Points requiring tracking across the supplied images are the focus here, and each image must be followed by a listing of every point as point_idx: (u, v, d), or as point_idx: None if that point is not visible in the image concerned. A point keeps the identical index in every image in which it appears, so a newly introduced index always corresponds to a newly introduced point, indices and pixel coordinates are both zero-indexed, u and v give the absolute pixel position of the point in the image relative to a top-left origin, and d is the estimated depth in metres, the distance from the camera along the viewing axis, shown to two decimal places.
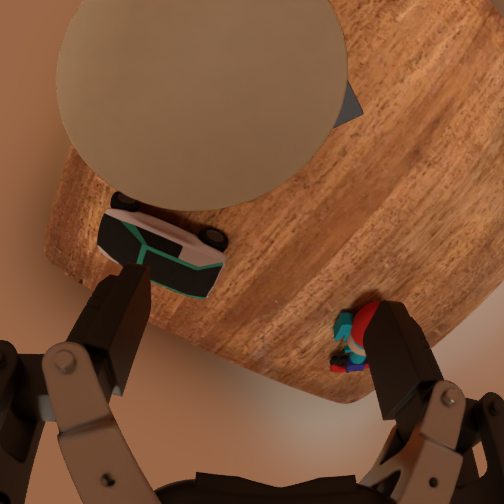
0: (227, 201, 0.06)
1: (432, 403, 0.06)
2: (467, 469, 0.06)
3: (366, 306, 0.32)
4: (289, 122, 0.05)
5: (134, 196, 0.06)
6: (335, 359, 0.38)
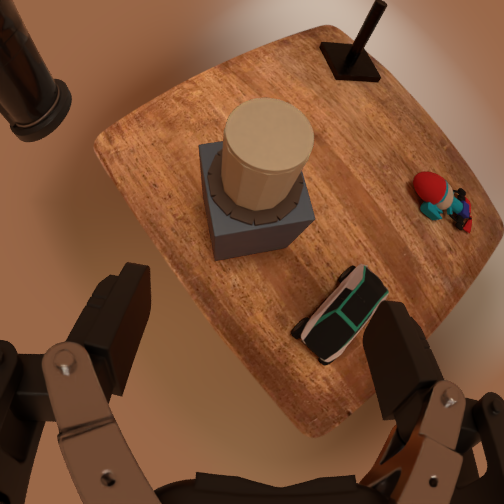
0: (312, 137, 0.20)
1: (432, 403, 0.06)
2: (467, 469, 0.06)
3: (415, 188, 0.41)
4: (293, 116, 0.20)
5: (302, 159, 0.19)
6: (458, 223, 0.42)
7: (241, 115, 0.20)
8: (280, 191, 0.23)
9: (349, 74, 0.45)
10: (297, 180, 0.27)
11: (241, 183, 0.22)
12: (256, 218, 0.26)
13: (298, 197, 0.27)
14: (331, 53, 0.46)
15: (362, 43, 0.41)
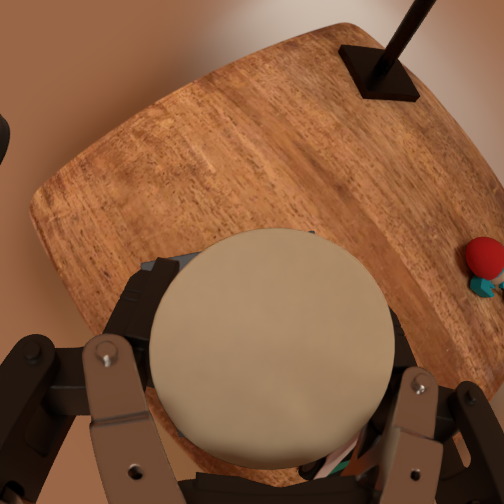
0: (390, 354, 0.07)
1: (403, 392, 0.06)
2: (450, 459, 0.06)
3: (468, 261, 0.28)
4: (347, 291, 0.07)
5: (360, 427, 0.07)
6: None
7: (194, 305, 0.07)
8: None
9: (381, 91, 0.32)
10: None
11: None
12: None
13: None
14: (355, 61, 0.33)
15: (399, 48, 0.28)
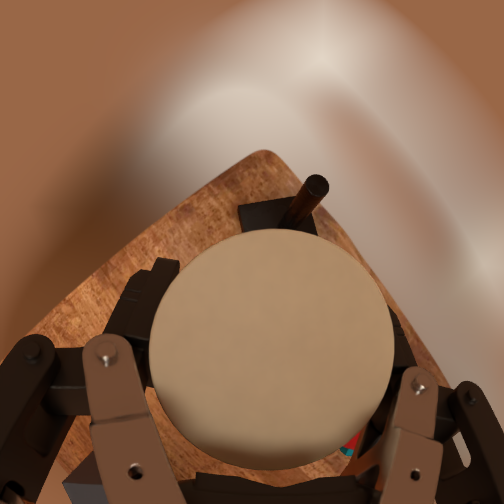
0: (389, 355, 0.07)
1: (403, 392, 0.06)
2: (450, 459, 0.06)
3: None
4: (347, 292, 0.07)
5: (360, 428, 0.07)
6: None
7: (193, 306, 0.07)
8: None
9: None
10: None
11: None
12: None
13: None
14: (250, 230, 0.38)
15: (291, 229, 0.33)
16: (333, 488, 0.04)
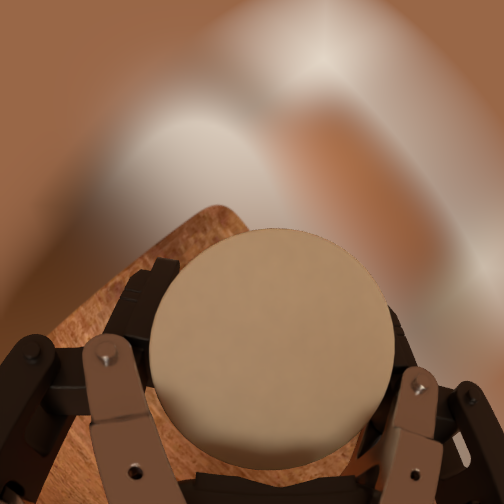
0: (390, 355, 0.07)
1: (403, 392, 0.06)
2: (449, 459, 0.06)
3: None
4: (347, 291, 0.07)
5: (360, 428, 0.07)
6: None
7: (193, 306, 0.07)
8: None
9: None
10: None
11: None
12: None
13: None
14: None
15: None
16: (333, 488, 0.04)
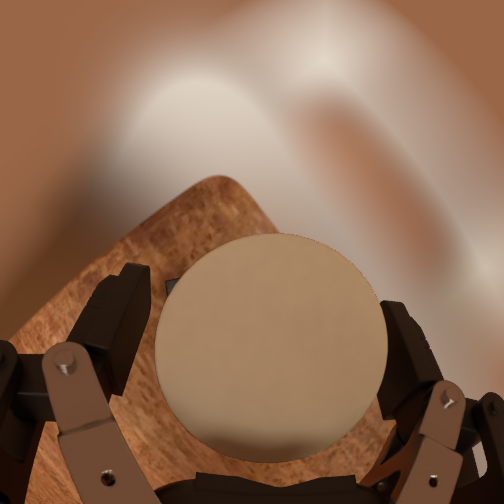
0: (383, 353, 0.07)
1: (432, 403, 0.06)
2: (467, 469, 0.06)
3: None
4: (342, 293, 0.08)
5: (355, 423, 0.07)
6: None
7: (196, 307, 0.07)
8: None
9: None
10: None
11: None
12: None
13: None
14: None
15: None
16: (355, 485, 0.04)
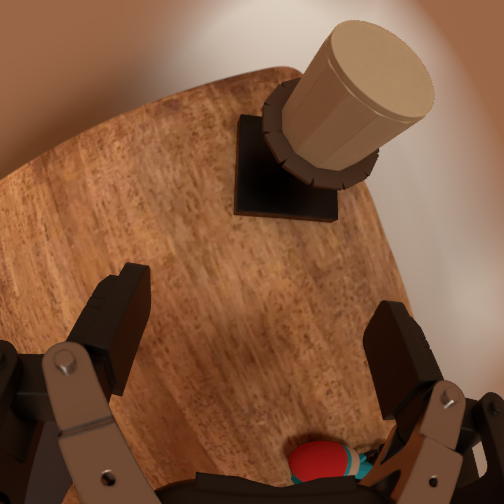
0: (432, 93, 0.12)
1: (432, 403, 0.06)
2: (467, 469, 0.06)
3: None
4: (413, 60, 0.12)
5: (423, 113, 0.12)
6: None
7: (352, 31, 0.11)
8: (368, 148, 0.15)
9: (263, 210, 0.25)
10: None
11: (325, 119, 0.14)
12: (317, 177, 0.18)
13: (370, 168, 0.19)
14: (248, 148, 0.26)
15: None
16: (355, 486, 0.04)
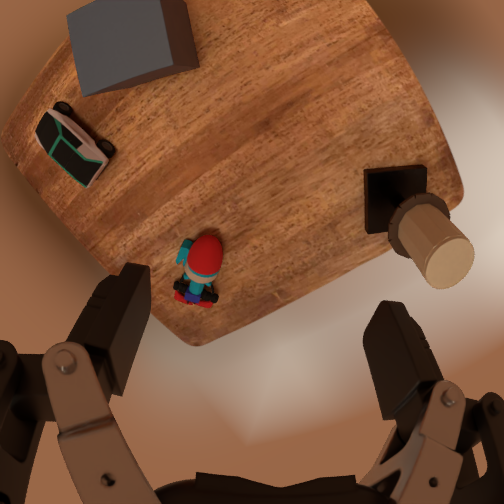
0: (440, 288, 0.27)
1: (432, 403, 0.06)
2: (467, 469, 0.06)
3: (202, 236, 0.41)
4: (456, 278, 0.27)
5: (428, 282, 0.27)
6: (176, 284, 0.46)
7: (466, 248, 0.25)
8: (410, 254, 0.30)
9: (368, 189, 0.38)
10: None
11: (422, 233, 0.27)
12: (393, 225, 0.32)
13: (401, 254, 0.34)
14: (405, 175, 0.36)
15: None
16: (355, 486, 0.04)
